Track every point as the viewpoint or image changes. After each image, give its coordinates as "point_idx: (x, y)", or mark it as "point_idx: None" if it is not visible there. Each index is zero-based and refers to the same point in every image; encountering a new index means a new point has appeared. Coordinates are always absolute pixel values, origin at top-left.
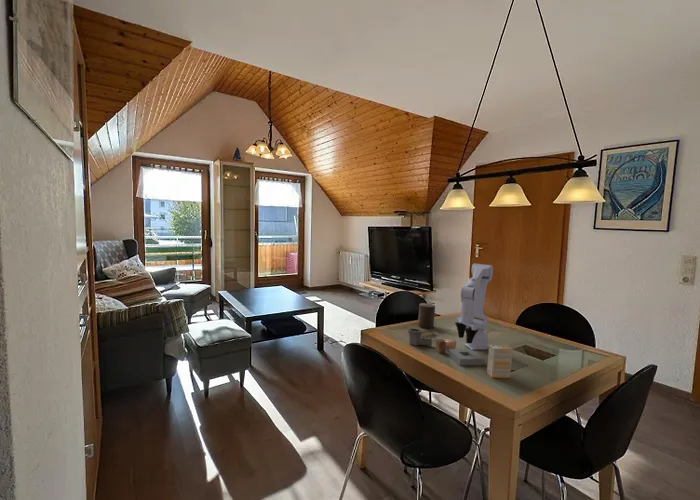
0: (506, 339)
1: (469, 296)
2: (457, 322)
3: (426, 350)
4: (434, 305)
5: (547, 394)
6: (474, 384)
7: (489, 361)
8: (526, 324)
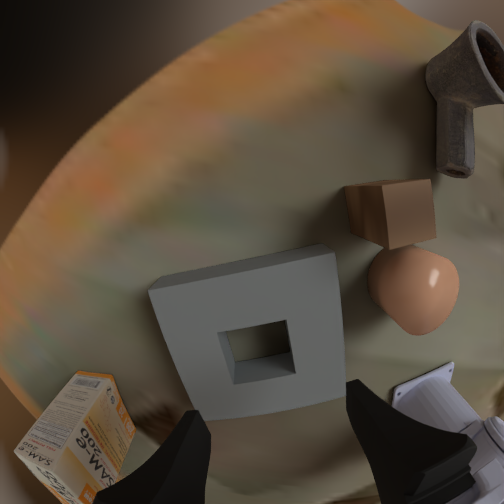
0: None
1: None
2: (460, 466)
3: (376, 119)
4: None
5: None
6: (12, 278)
7: (71, 409)
8: None
